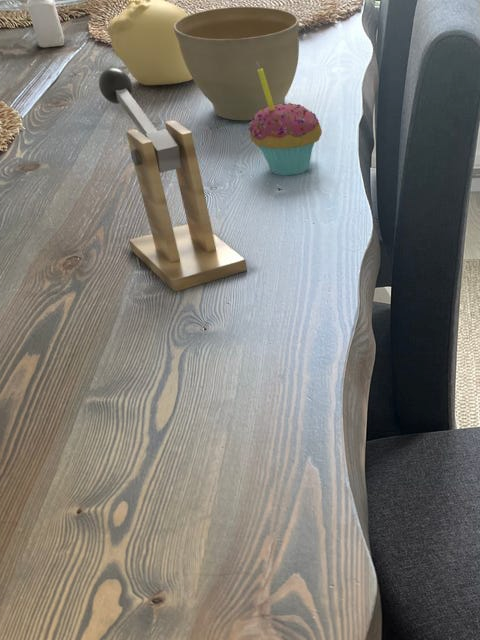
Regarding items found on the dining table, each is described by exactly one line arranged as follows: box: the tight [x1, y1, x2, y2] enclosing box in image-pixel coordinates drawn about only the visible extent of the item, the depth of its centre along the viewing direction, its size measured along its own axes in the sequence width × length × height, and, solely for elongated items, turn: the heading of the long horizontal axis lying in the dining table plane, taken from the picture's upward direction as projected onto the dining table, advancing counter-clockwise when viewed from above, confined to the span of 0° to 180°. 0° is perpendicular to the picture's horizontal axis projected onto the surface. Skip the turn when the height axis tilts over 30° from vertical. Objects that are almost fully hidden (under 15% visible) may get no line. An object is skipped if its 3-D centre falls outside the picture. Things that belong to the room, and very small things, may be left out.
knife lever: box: [98, 67, 181, 174], centre depth 100 cm, size 14×3×3 cm, turn 34°
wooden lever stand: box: [125, 119, 248, 293], centre depth 101 cm, size 12×8×13 cm, turn 35°
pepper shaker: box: [26, 0, 65, 49], centre depth 161 cm, size 4×4×10 cm
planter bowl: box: [174, 6, 300, 122], centre depth 135 cm, size 16×16×11 cm
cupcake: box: [248, 62, 323, 176], centre depth 120 cm, size 9×8×12 cm
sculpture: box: [107, 0, 193, 86], centre depth 146 cm, size 12×12×11 cm
